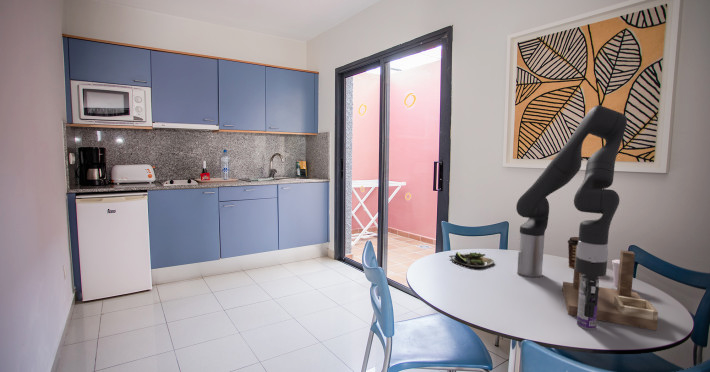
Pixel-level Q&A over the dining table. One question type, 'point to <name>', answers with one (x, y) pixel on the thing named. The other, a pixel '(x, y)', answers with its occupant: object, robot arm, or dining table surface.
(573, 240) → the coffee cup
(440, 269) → the dining table surface
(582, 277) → the container
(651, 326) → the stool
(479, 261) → the salad plate
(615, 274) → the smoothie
